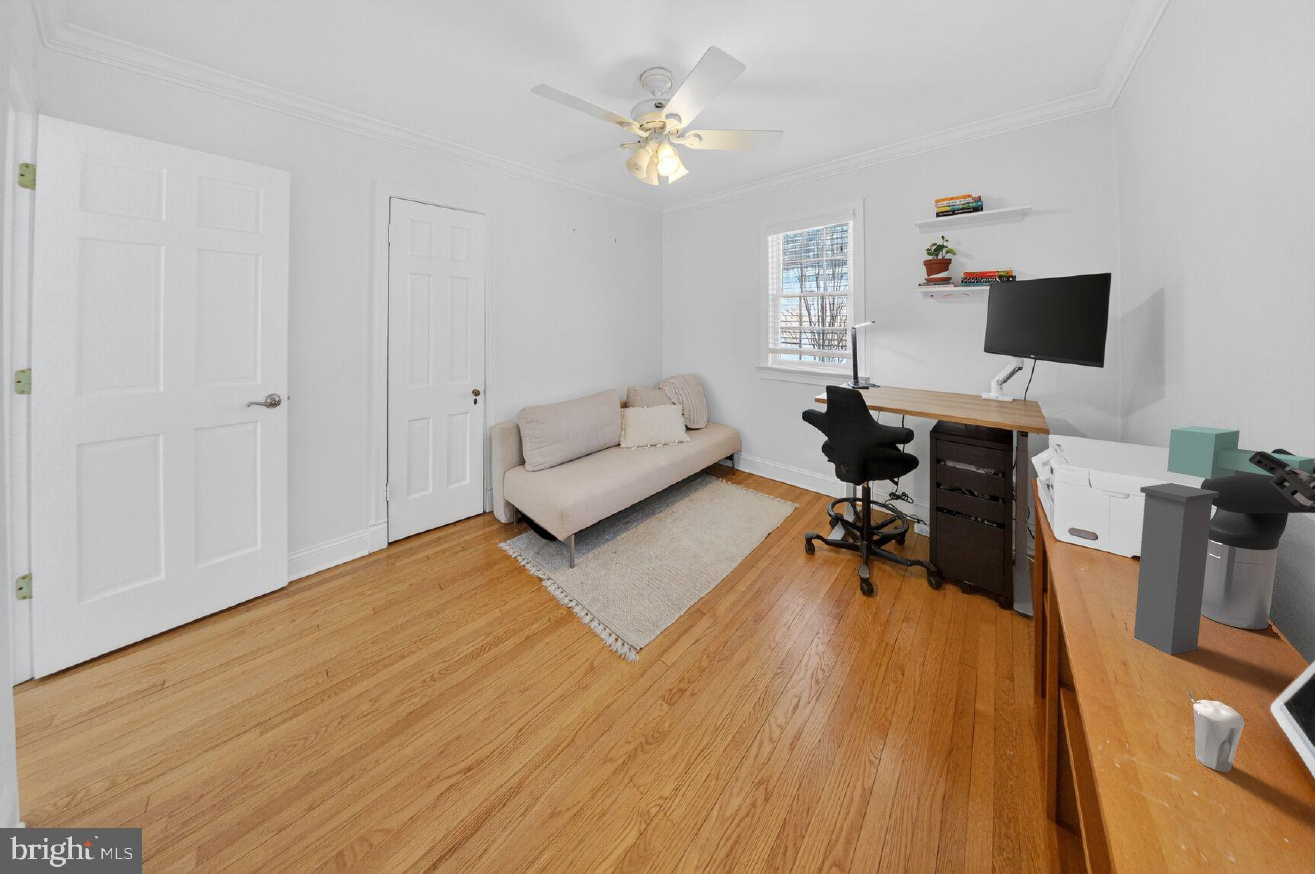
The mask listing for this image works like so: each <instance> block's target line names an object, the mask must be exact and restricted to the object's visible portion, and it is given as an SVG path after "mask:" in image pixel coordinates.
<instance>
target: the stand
mask: <svg viewBox="0 0 1315 874" xmlns="http://www.w3.org/2000/svg"><path fill="white" fill-rule="evenodd" d="M1200 488H1201V487H1193V486H1189V485H1184V484H1179V483H1173V482H1167V483H1161V484H1153V485H1147V486H1141V487H1140V489H1139V490H1140V491H1139V493H1143V494H1144V495H1145V496H1144V506H1143V516H1142V517H1143V519H1142V531H1141V544H1140V555H1139V556H1140V557H1139V570H1138V582H1137V583H1138V584H1137V595H1136V606H1135V607H1136V608H1135V609H1136V610H1135V620H1134V621H1135V622H1134V634H1133V637H1134V638H1135V639H1138V640H1140V641H1141V642H1144V643H1145V644H1147V645H1150V646H1152V647H1153V648H1156V649H1157V650H1160V651H1161V652H1164V653H1165V654H1167V655H1170V656H1173V655H1178V654H1179V655H1180V654H1183V653H1189V652H1194V651H1197V650H1198V644H1199V636H1200V635H1199V634H1200V626H1201V617H1202V616H1201V615H1202V614H1201V607H1202V597H1203V588H1204V578H1205V568H1206V558H1207V549H1208V539H1209V529H1210V520H1211V519H1212V510H1213V509H1212V508H1213V505H1212V500H1213V498H1218V497H1219V492H1216V491H1211V490H1205V489H1200Z"/></svg>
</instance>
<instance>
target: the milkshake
mask: <svg viewBox="0 0 1315 874" xmlns="http://www.w3.org/2000/svg"><path fill="white" fill-rule="evenodd" d="M1185 690H1186V692H1187V693H1188V694H1187V695H1188V696H1189V698H1190V700H1191V702H1192V704H1193V705H1192V706H1193V708H1192V709H1193V722H1194V751H1195V752H1194V753H1195V754H1194V755H1195V757H1196V758H1195V759H1196V760H1197V761H1199V762H1200V763H1201V764H1202V765H1203V766H1205V767H1207V768H1210V769H1211V770H1214V771H1217V772H1221V773H1228V772H1231V771H1232V767H1233V765H1234V760H1235V758H1236V753H1237V749H1238V744H1239V742H1240V738H1241V735H1242V732H1243V729H1244V727H1245V726H1244V725H1245V720H1244V718H1243V717H1242V715H1241V714H1239V712H1237V710H1235V709H1234V708H1232V707H1231V706H1229V705H1226V704H1224V703H1223V702H1221V701H1217V700H1208V699H1200V700H1197V701H1195V700H1194V699H1193V696H1192V695H1191V693H1190V691H1189V689H1188V687H1186V689H1185Z"/></svg>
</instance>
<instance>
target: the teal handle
mask: <svg viewBox="0 0 1315 874" xmlns="http://www.w3.org/2000/svg"><path fill="white" fill-rule="evenodd" d="M1239 439H1240V430H1239V429H1238V430H1237V429H1230V428H1229V429H1226V428H1219V427H1218V428H1216V427H1208V426H1207V427H1206V426H1187V427H1179V428H1171V429H1170V437H1169V447H1168V448H1169V449H1168V461H1167V472H1168V473H1173V474H1174V473H1175V474H1180V475H1185V476H1186V475H1187V476H1192V477H1198V478H1202V479H1206V478H1208V479H1214V478H1221V477H1227V476H1234V475H1235V470H1238V471H1244V472H1251V473H1257V474H1264V475H1270V476H1274V475H1272V474H1270V473H1268V472H1267V471H1265V470H1263V469H1261V468H1259V467H1258V466H1256V465H1254V464H1252V463H1250V462H1249V459H1250V458H1251V457H1252V456H1253V455H1254V454H1255V453H1256V452H1260V451H1261V450H1260V451H1258V450H1249V449H1242V448H1239ZM1265 452H1266V453H1268V454H1270V455H1272V456H1274V457H1276V458H1277V459H1279V460H1281V461H1283V462H1285V463H1287V464H1289V465H1290V466H1292V467H1295V468H1297V469H1299V470H1301V471H1304V472H1306V473H1308V474H1313V470H1314V463H1315V457H1309V456H1300V455H1296V456H1293V455H1284V454H1275V453H1271V452H1267V451H1265ZM1297 477H1298V476H1297ZM1298 478H1300V479H1302V478H1301V477H1298Z"/></svg>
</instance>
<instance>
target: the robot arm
mask: <svg viewBox="0 0 1315 874" xmlns="http://www.w3.org/2000/svg"><path fill="white" fill-rule="evenodd" d="M1266 452H1267V451H1261V450H1260V452H1256V453H1255V454H1254V455H1253V456H1252V457H1251V458H1250V459H1249V462H1250V463H1252V464H1254V465H1256V466H1258V467H1259V468H1261V469H1263V470H1265V471H1267V472H1268V473H1270V474H1272V475H1274V476H1270V475H1264V474H1257V473H1251V472H1244V471H1238V470H1235V475H1234V476H1227V477H1221V478H1214V479H1208V478H1204V479H1203V481H1202V482H1201V484H1200V487H1199V488H1200V489H1205V490H1211V491H1216V492H1219V497H1218V498H1213V500H1212V507H1213V506H1214V507H1215V512H1214V514H1213V516H1211V519H1210V529H1209V539H1208V549H1207V558H1206V568H1205V578H1204V588H1203V597H1202V607H1201V615H1202V616H1203V617H1206V618H1208V619H1210V620H1212V621H1215V622H1217V623H1220V624H1222V625H1227V626H1230V627H1235V628H1240V629H1245V630H1246V629H1247V630H1264V629H1266V628H1268V626H1269V621H1270V612H1271V606H1272V605H1271V604H1272V598H1273V590H1274V584H1275V583H1274V582H1275V575H1276V566H1277V557H1278V550H1279V542H1280V539H1281V537H1282V535H1283V534H1284V532H1285V530H1286V528H1287V523H1288V517H1289V514H1315V463H1314V470H1313V474H1308V473H1306V472H1304V471H1301V470H1299V469H1297V468H1295V467H1292V466H1290V465H1289V464H1287V463H1285V462H1283V461H1281V460H1279V459H1277V458H1276V457H1274V456H1272V455H1270V454H1268V453H1269V452H1268V453H1266ZM1270 453H1275V454H1284V455H1293V456H1297V455H1296V454H1294V453H1292V452H1290V451H1288V450H1286V449H1285V448H1276V449H1274V450H1272V451H1271V452H1270ZM1297 476H1298V477H1301V478H1302V479H1300V478H1298V477H1297ZM1267 619H1268V621H1267Z"/></svg>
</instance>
